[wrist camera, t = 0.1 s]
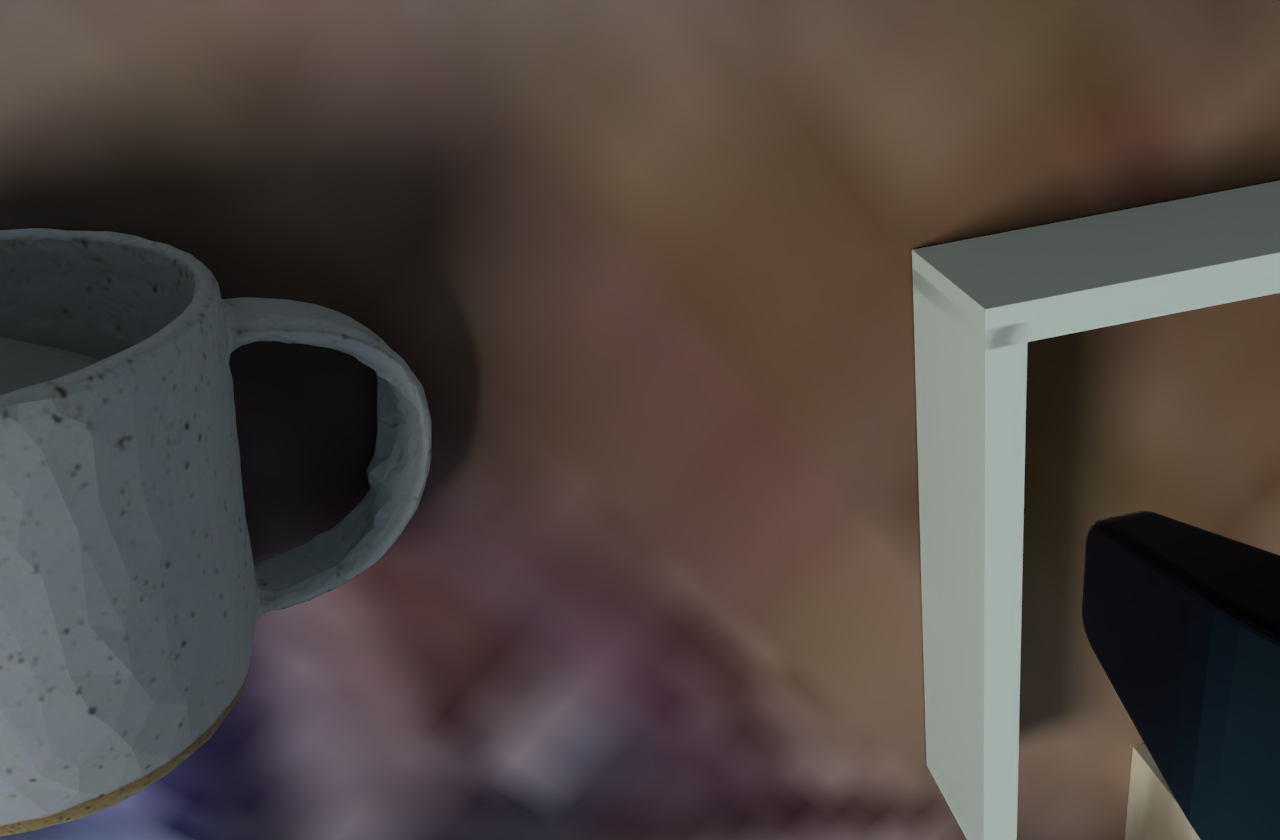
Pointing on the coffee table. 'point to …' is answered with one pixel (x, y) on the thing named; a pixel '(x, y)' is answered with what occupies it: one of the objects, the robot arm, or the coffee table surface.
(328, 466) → the coffee table surface
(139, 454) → the ceramic mug
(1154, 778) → the tile
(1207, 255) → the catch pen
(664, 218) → the coffee table surface
